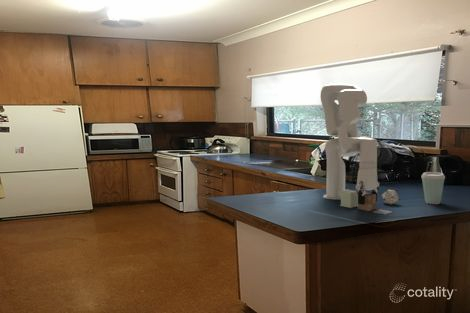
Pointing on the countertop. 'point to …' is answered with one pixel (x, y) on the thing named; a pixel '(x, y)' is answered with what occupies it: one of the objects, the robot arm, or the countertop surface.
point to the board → (377, 211)
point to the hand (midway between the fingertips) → (367, 202)
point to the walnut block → (368, 202)
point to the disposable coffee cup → (433, 186)
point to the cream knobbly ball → (390, 196)
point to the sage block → (349, 198)
